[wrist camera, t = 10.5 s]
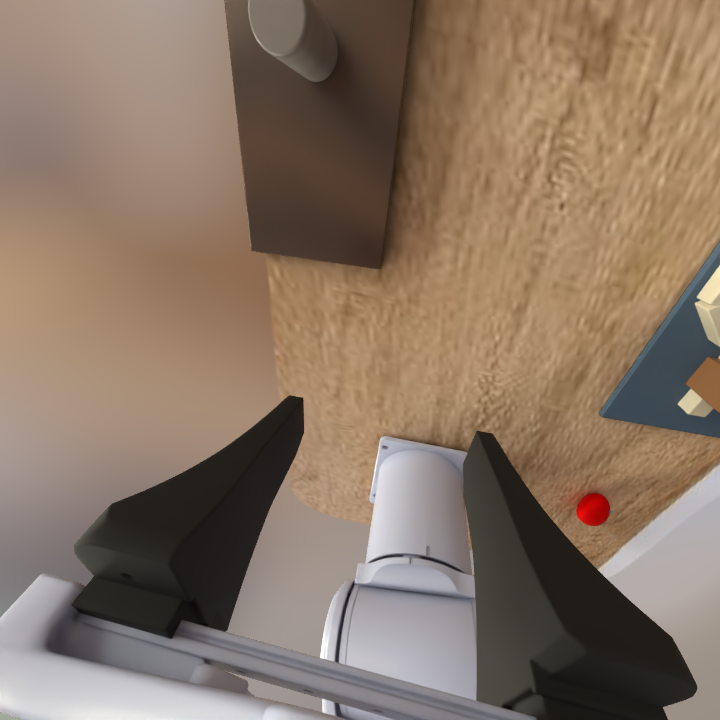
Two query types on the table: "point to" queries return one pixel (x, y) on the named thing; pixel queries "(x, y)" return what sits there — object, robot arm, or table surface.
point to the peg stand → (319, 122)
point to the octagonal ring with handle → (715, 375)
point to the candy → (593, 509)
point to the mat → (670, 368)
